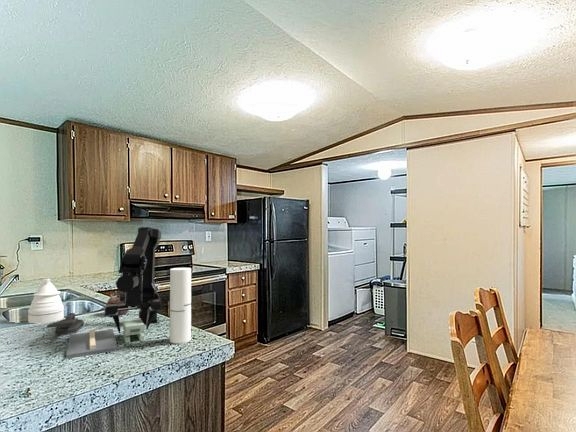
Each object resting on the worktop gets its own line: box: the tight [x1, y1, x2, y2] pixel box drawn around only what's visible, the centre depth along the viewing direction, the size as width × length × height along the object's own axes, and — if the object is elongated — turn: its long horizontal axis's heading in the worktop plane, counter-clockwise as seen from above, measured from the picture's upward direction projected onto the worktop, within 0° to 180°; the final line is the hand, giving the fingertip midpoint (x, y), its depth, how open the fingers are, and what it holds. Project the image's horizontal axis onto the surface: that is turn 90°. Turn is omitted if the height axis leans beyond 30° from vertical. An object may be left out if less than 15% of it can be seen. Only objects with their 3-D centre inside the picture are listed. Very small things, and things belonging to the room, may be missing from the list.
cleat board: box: [65, 328, 119, 359], centre depth 120 cm, size 14×24×2 cm, turn 30°
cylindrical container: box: [169, 267, 192, 344], centre depth 124 cm, size 7×7×25 cm
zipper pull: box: [46, 312, 85, 336], centre depth 133 cm, size 9×7×25 cm
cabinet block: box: [122, 318, 145, 344], centre depth 126 cm, size 6×11×6 cm, turn 30°
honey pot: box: [27, 278, 65, 324], centre depth 153 cm, size 13×13×18 cm
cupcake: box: [106, 291, 129, 317], centre depth 163 cm, size 10×10×10 cm
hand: (133, 330), depth 127 cm, fingers open, 9 cm apart
